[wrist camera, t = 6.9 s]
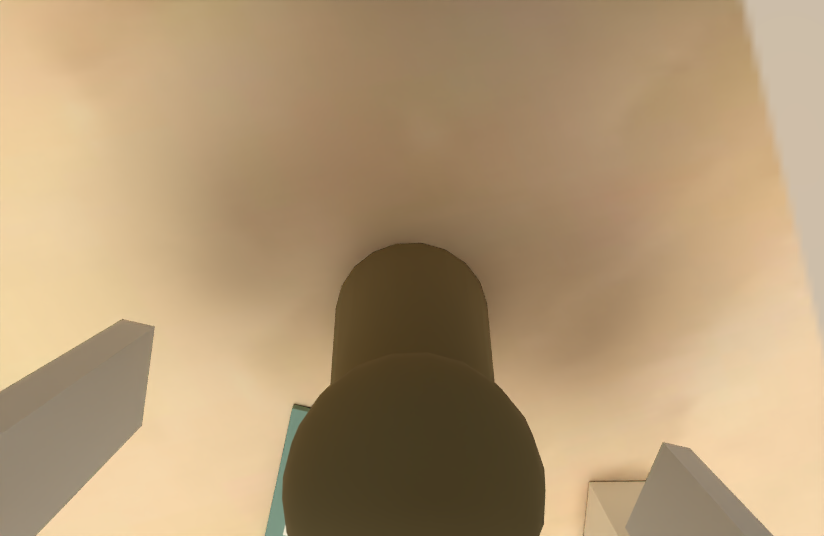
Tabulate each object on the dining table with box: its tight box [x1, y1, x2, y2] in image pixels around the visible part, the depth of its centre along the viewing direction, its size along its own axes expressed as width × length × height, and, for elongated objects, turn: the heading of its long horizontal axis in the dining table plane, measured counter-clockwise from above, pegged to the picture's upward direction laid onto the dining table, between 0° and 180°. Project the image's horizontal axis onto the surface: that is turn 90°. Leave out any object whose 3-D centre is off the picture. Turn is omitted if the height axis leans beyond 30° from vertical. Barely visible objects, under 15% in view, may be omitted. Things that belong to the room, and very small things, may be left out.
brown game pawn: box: [282, 243, 545, 536], centre depth 13 cm, size 6×6×11 cm
